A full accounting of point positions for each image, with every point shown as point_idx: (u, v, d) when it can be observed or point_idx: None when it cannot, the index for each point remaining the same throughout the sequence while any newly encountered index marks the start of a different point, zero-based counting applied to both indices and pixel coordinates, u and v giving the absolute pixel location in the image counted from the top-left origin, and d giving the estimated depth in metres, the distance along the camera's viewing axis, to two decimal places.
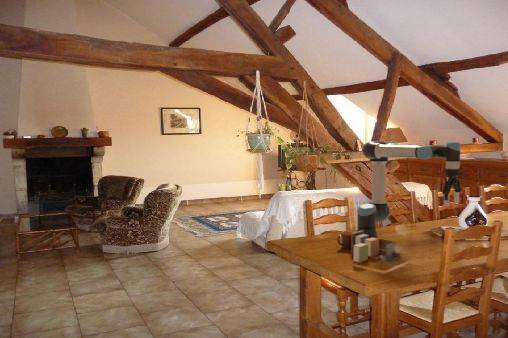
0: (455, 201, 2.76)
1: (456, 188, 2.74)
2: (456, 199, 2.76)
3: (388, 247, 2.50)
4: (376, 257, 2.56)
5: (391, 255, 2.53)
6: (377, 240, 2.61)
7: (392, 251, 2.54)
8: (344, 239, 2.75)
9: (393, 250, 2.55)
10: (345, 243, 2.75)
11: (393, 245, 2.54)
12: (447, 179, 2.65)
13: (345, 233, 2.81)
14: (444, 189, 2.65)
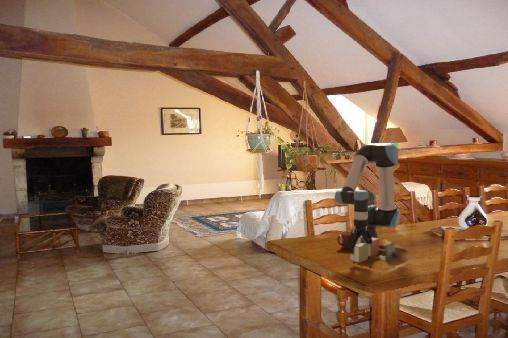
0: None
1: (366, 239, 2.53)
2: None
3: (388, 247, 2.50)
4: (376, 257, 2.56)
5: (391, 255, 2.53)
6: (377, 240, 2.61)
7: (392, 251, 2.54)
8: (344, 239, 2.75)
9: (393, 250, 2.55)
10: (345, 243, 2.75)
11: (393, 245, 2.54)
12: (353, 231, 2.45)
13: (345, 233, 2.81)
14: (349, 242, 2.44)
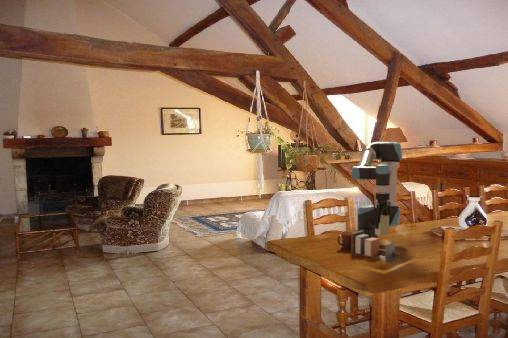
0: None
1: None
2: None
3: (388, 247, 2.50)
4: (376, 257, 2.56)
5: (391, 255, 2.53)
6: (377, 240, 2.61)
7: (392, 251, 2.54)
8: (344, 239, 2.75)
9: (393, 250, 2.55)
10: (345, 243, 2.75)
11: (393, 245, 2.54)
12: (375, 206, 2.50)
13: (345, 233, 2.81)
14: (374, 217, 2.50)
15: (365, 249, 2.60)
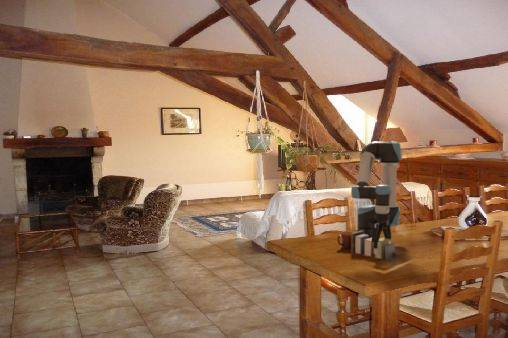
0: None
1: (386, 234, 2.58)
2: None
3: (388, 247, 2.50)
4: None
5: (391, 255, 2.53)
6: None
7: (392, 251, 2.54)
8: (344, 239, 2.75)
9: (393, 250, 2.55)
10: (345, 243, 2.75)
11: (393, 245, 2.54)
12: (375, 226, 2.50)
13: (345, 233, 2.81)
14: (373, 237, 2.50)
15: (365, 249, 2.60)
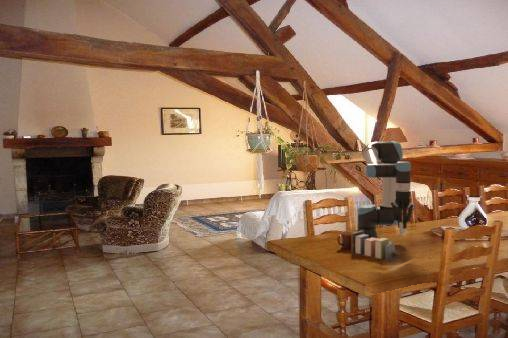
0: None
1: None
2: None
3: (388, 247, 2.50)
4: None
5: (391, 255, 2.53)
6: None
7: (392, 251, 2.54)
8: (344, 239, 2.75)
9: (393, 250, 2.55)
10: (345, 243, 2.75)
11: (393, 245, 2.54)
12: None
13: (345, 233, 2.81)
14: None
15: (365, 249, 2.60)
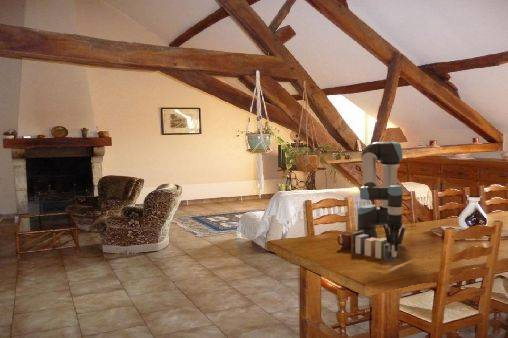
0: None
1: None
2: None
3: (386, 247, 2.51)
4: None
5: (389, 255, 2.54)
6: None
7: (390, 251, 2.55)
8: (344, 239, 2.75)
9: (391, 250, 2.56)
10: (345, 243, 2.75)
11: None
12: None
13: (345, 233, 2.81)
14: None
15: (365, 249, 2.60)
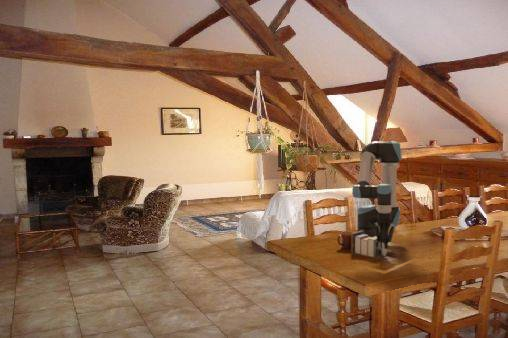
0: None
1: None
2: None
3: (376, 245, 2.56)
4: None
5: (379, 253, 2.58)
6: None
7: (381, 249, 2.59)
8: (344, 239, 2.75)
9: None
10: (345, 243, 2.75)
11: None
12: None
13: (345, 233, 2.81)
14: None
15: (361, 248, 2.62)
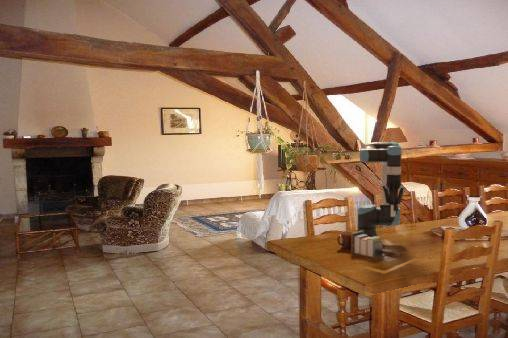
0: None
1: None
2: None
3: (376, 245, 2.56)
4: None
5: (379, 252, 2.59)
6: None
7: (380, 249, 2.59)
8: (344, 239, 2.75)
9: (381, 248, 2.60)
10: (345, 243, 2.75)
11: (381, 243, 2.60)
12: None
13: (345, 233, 2.81)
14: None
15: (360, 248, 2.62)
